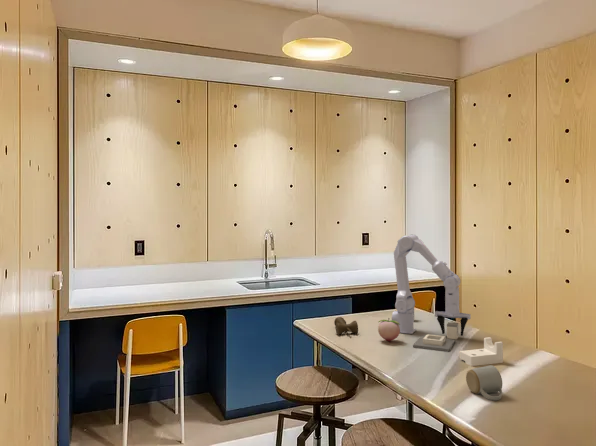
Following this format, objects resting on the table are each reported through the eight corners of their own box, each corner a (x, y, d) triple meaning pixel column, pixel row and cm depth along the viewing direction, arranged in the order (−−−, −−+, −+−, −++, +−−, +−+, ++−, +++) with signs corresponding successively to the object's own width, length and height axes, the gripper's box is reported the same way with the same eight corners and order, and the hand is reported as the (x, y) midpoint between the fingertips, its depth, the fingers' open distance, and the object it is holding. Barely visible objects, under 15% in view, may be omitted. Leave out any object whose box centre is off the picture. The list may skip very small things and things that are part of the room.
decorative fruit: (376, 343, 192) (376, 319, 192) (378, 338, 200) (378, 315, 200) (400, 345, 190) (399, 320, 189) (401, 339, 198) (400, 316, 197)
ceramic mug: (464, 388, 143) (464, 364, 142) (487, 386, 144) (487, 361, 144) (484, 403, 132) (484, 376, 132) (510, 400, 134) (510, 374, 134)
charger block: (447, 338, 198) (446, 324, 198) (448, 336, 202) (448, 322, 202) (456, 339, 197) (456, 325, 196) (458, 337, 200) (458, 323, 200)
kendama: (349, 327, 223) (361, 337, 203) (329, 328, 221) (340, 339, 201) (348, 314, 223) (360, 323, 203) (329, 316, 221) (339, 325, 201)
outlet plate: (412, 347, 186) (412, 339, 186) (420, 338, 199) (420, 331, 199) (448, 351, 180) (448, 344, 180) (454, 342, 192) (454, 335, 192)
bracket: (490, 357, 173) (489, 337, 173) (502, 363, 166) (502, 342, 166) (459, 360, 170) (459, 340, 170) (471, 366, 163) (471, 345, 163)
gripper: (433, 303, 199) (433, 334, 199) (468, 306, 192) (469, 338, 192) (436, 300, 205) (436, 330, 205) (471, 302, 198) (471, 334, 199)
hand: (452, 334), depth 199 cm, fingers open, 7 cm apart
